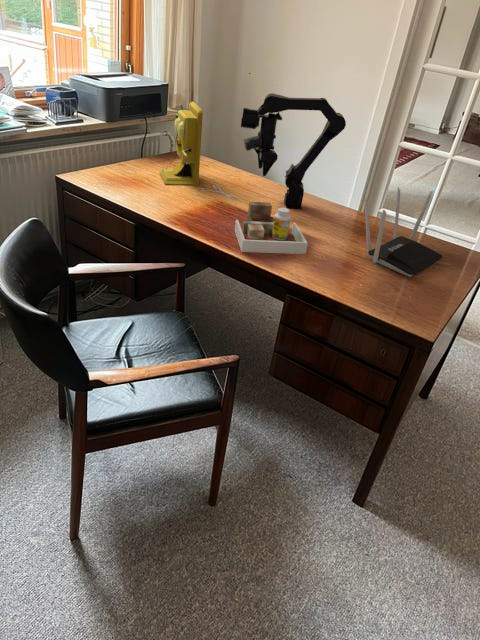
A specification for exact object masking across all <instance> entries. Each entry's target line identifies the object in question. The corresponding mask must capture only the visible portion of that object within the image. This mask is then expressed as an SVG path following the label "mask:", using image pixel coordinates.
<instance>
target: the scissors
mask: <svg viewBox="0 0 480 640" xmlns="http://www.w3.org/2000/svg"><path fill="white" fill-rule="evenodd" d="M212 186H213V187H214V188H213V187H212V188H213V189H217V188H218V189H217V191H216V190H211V189H209V188H198V187H197V188H196V190H200V189H201V191H202V192H205V191H207V192H206V193H209V192H208V191H212V193H217V192H218V194H220V195H221V194H222V195H224V196H226V197H228V198H230V199H232V200H233V201H236V202H238V200H237V199H235V198H238V199H243V198H241V197H238V196H236V195H232V194H229V193H226V192H225V191H223V190H222V189H221V187H220V185H216V184H214V185H212ZM206 189H207V190H206ZM218 190H219V191H218Z"/></svg>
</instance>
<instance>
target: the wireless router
mask: <svg viewBox="0 0 480 640" xmlns="http://www.w3.org/2000/svg"><path fill="white" fill-rule="evenodd" d="M433 193H434V192H433V191H432V190H431V191H429V193H428V195H427V197H426V199H425V201H424V204H423V206H422V208H421V210H420V212H419V216H418V217H417V220H416V221H415V225H414V226H413V229H412V231H411V233H410V234H409V235H410V236H409V238H408V237H406V236H403V235H401V236H400V235H399V236H398V229H399V227H398V226H399V218H400V217H399V216H400V202H401V189H400V188H399V187H397V193H396V202H395V203H396V207H395V217H394V227H393V229H394V231H393V239H391V240H389V241H387V242H385V243H382V240H383V234H384V233H383V232H384V228H385V223H386V216H387V211H386V210H385V209H382V212H381V213H382V214H381V219H380V223H379V228H378V233H377V239H376V243H375V247H374V248H373V249H371V248H372V247H371V246H372V245H371V234H370V233H371V230H370V215H369V201H368V200H367V198H364V215H365V216H364V217H365V234H366V251H367V252H366V253H367V256H368V257H370V256H371V260H372V262H373V263H375V264H376V263H377V264H379V265H381V266H383V267H386V268H388V269H391V270H392V271H395V272H398V273H399V274H402V275H404V276H406V277H408V278H411V277H413V276H414V275H415V276H416V275H417V274H418V273H420V272H421V271H423V270H426V268H428V267H430V266H431V265H433V264H434V263H436V262H438V261H439V260H441V259H443V255H442V254H441V253H439V252H438V251H435V250H433V249H431V248H430V247H428V246H426V245H424V244H422V243H420V242H417V241H415V237H416V235H417V233H418V230H419V228H420V224H421V222H422V220H423V217H424V215H425V214H426V213H425V212H426V209H427V207H428V205H429V203H430V201H431V197H432V196H433Z"/></svg>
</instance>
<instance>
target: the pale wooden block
mask: <svg viewBox="0 0 480 640" xmlns="http://www.w3.org/2000/svg"><path fill="white" fill-rule="evenodd" d="M264 231H265V230H264V228H263V226H262V225H259V224H248V227H247V233H246V234H247V237H248V240H264V237H265V233H264Z"/></svg>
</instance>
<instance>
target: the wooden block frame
mask: <svg viewBox="0 0 480 640" xmlns="http://www.w3.org/2000/svg"><path fill="white" fill-rule="evenodd" d="M247 209H248V210H247V215H246V220H243V221H242V232H243V234H247V227H248V224H259V225H262V226H263V228H264V230H265V231H264V234H265V235H266V234H268V235H272V230H273V223H274V216H271V215H272V210H273V205H272V203H271V202H268V201H267V202H265V201H263V202H262V201H249V203H248V208H247ZM256 220H257V221H256Z"/></svg>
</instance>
